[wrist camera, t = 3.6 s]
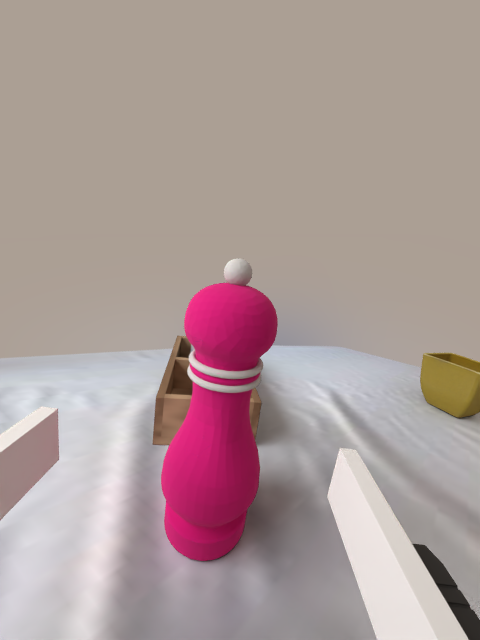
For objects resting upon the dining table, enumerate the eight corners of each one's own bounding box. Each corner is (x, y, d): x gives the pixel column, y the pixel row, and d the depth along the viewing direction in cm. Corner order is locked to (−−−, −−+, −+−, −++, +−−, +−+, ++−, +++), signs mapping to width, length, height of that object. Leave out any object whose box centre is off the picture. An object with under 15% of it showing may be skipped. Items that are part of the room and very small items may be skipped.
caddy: (232, 367, 49) (236, 340, 47) (253, 446, 28) (261, 402, 27) (175, 363, 47) (177, 335, 46) (152, 444, 26) (156, 397, 25)
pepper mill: (136, 524, 18) (152, 245, 14) (200, 465, 25) (225, 258, 20) (213, 600, 15) (267, 259, 11) (265, 509, 21) (313, 269, 17)
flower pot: (407, 397, 46) (422, 352, 44) (436, 394, 50) (450, 351, 48) (463, 427, 39) (483, 374, 37) (492, 421, 42) (512, 371, 40)
